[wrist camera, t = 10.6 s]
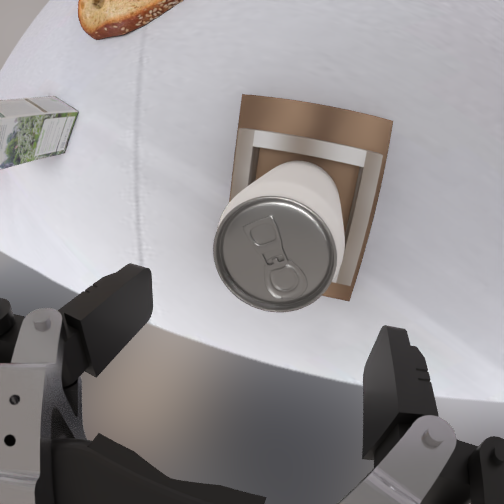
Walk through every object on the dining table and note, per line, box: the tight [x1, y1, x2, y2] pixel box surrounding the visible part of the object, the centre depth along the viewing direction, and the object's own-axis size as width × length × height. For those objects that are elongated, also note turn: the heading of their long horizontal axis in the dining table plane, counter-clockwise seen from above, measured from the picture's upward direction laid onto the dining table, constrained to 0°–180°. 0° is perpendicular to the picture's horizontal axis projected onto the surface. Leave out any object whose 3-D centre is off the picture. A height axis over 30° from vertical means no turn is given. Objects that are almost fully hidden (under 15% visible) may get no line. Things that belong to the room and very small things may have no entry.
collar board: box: [229, 94, 393, 301], centre depth 24 cm, size 12×16×4 cm
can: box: [213, 161, 345, 312], centre depth 19 cm, size 6×6×12 cm
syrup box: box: [0, 96, 78, 170], centre depth 22 cm, size 6×6×14 cm
